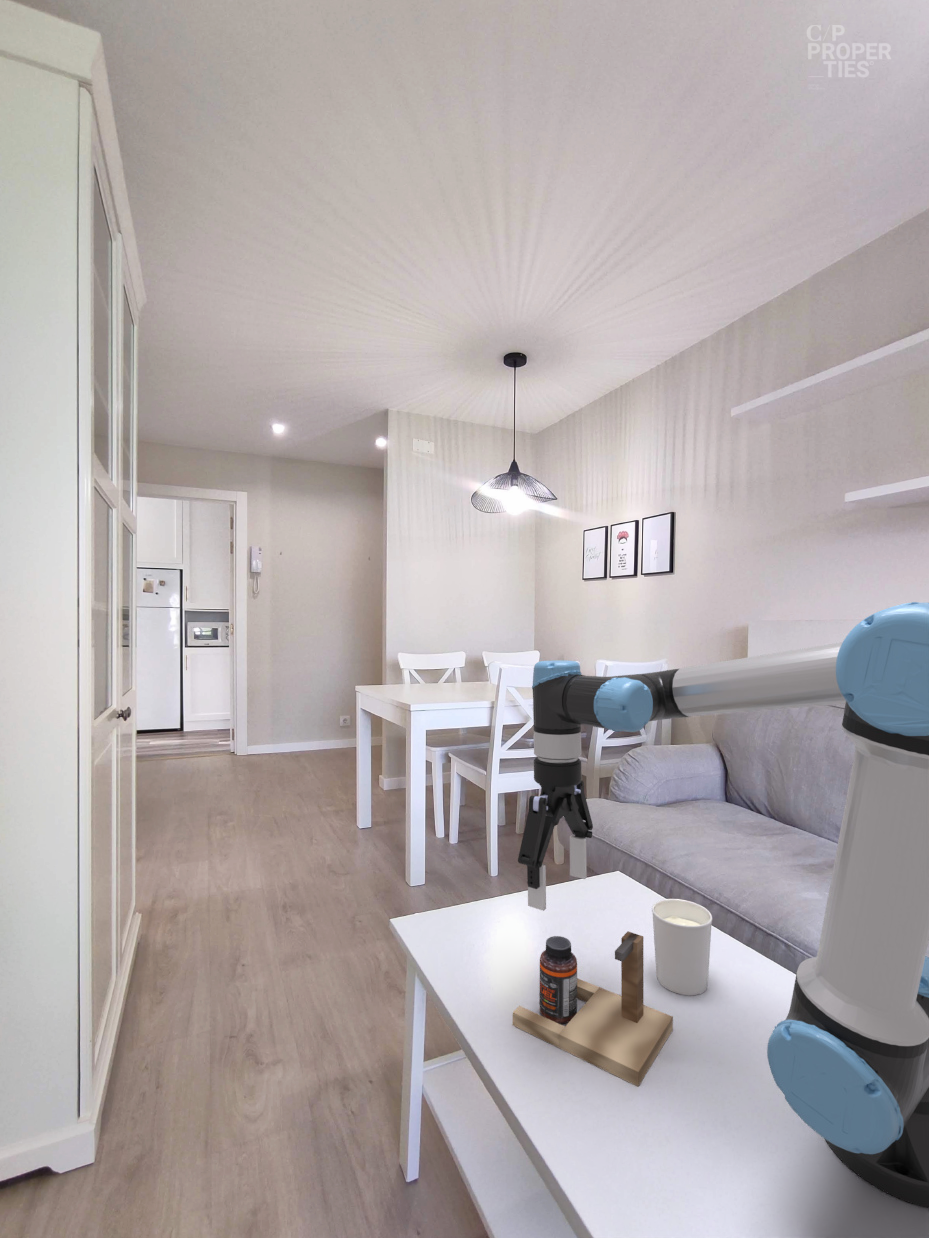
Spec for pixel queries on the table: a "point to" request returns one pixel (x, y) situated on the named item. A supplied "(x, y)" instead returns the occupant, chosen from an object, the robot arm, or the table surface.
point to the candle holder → (682, 945)
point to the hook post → (631, 976)
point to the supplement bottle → (558, 980)
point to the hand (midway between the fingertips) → (558, 891)
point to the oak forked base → (603, 1033)
